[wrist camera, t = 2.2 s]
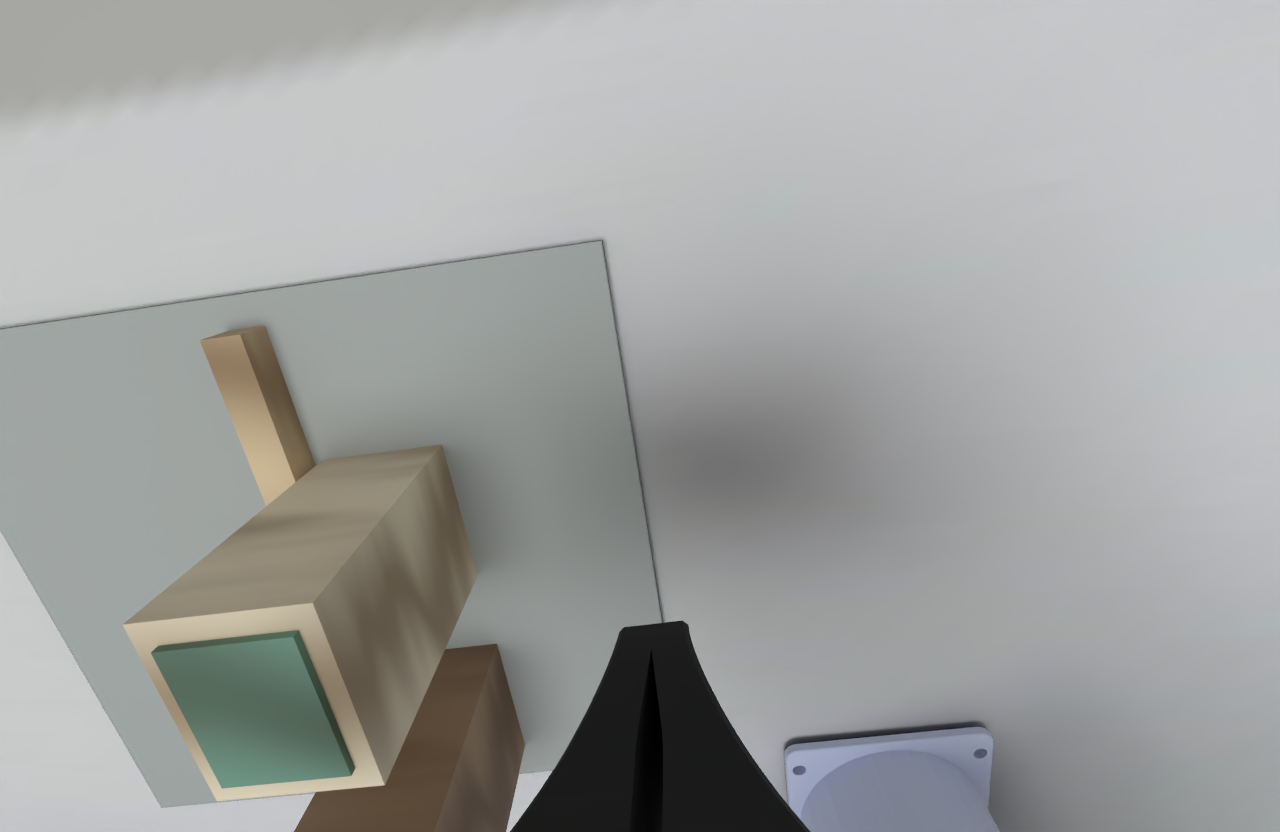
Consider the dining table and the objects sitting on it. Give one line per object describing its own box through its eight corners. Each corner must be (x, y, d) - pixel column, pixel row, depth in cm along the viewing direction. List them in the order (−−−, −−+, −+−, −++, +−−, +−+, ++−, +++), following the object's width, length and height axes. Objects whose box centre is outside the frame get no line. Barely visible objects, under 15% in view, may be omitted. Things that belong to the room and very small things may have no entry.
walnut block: (525, 744, 24) (469, 997, 16) (427, 754, 24) (327, 1008, 17) (497, 643, 22) (420, 873, 15) (391, 655, 22) (263, 887, 15)
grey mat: (682, 749, 24) (683, 758, 24) (168, 798, 26) (161, 807, 25) (602, 240, 18) (600, 240, 17) (-93, 342, 19) (-108, 345, 18)
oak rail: (423, 764, 24) (412, 792, 23) (394, 767, 24) (382, 795, 23) (265, 325, 18) (239, 334, 17) (227, 331, 18) (199, 340, 17)
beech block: (478, 575, 21) (381, 793, 13) (367, 587, 21) (211, 809, 14) (441, 444, 19) (307, 609, 12) (322, 459, 20) (114, 631, 12)
